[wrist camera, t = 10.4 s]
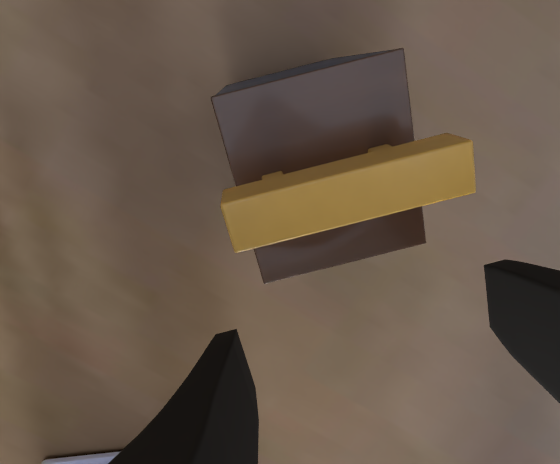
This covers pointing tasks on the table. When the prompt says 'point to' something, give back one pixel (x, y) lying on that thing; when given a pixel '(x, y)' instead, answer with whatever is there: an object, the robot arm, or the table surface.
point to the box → (332, 164)
